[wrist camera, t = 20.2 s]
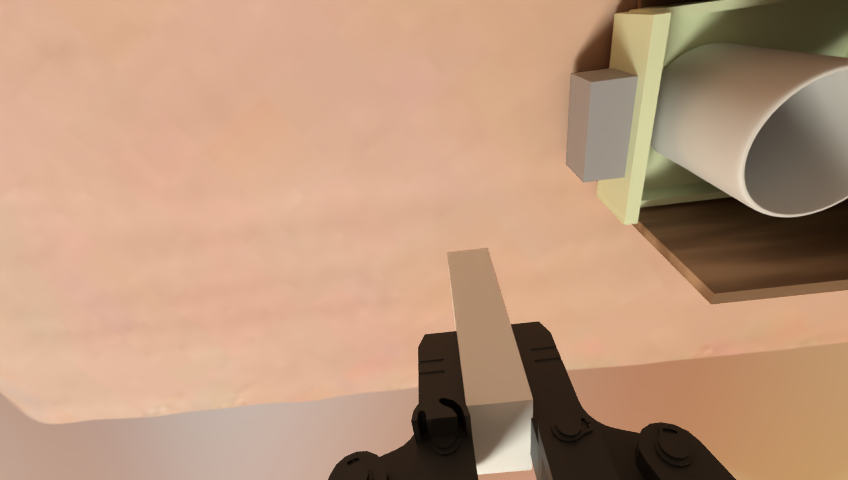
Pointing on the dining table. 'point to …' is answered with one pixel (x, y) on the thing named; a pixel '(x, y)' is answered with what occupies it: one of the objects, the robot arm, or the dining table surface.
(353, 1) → the dining table surface
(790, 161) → the mug
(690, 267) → the cubby
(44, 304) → the dining table surface
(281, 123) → the dining table surface
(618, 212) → the tray
